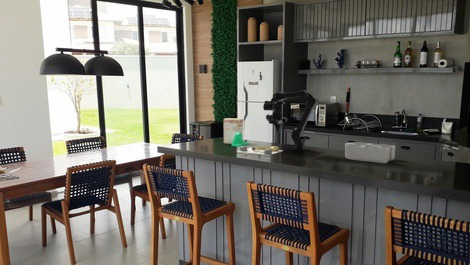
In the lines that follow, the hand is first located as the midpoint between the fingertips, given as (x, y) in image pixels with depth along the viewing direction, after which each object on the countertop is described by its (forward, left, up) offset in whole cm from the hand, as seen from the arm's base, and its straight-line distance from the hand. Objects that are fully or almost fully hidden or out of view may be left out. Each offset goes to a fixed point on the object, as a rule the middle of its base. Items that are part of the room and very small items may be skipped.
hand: (278, 133), depth 284 cm
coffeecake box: (+44, -9, -12) cm, 47 cm away
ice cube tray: (-63, +1, -12) cm, 64 cm away
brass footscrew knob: (+1, +17, -10) cm, 20 cm away
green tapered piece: (+31, +1, -12) cm, 33 cm away
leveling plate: (+4, +18, -12) cm, 22 cm away
